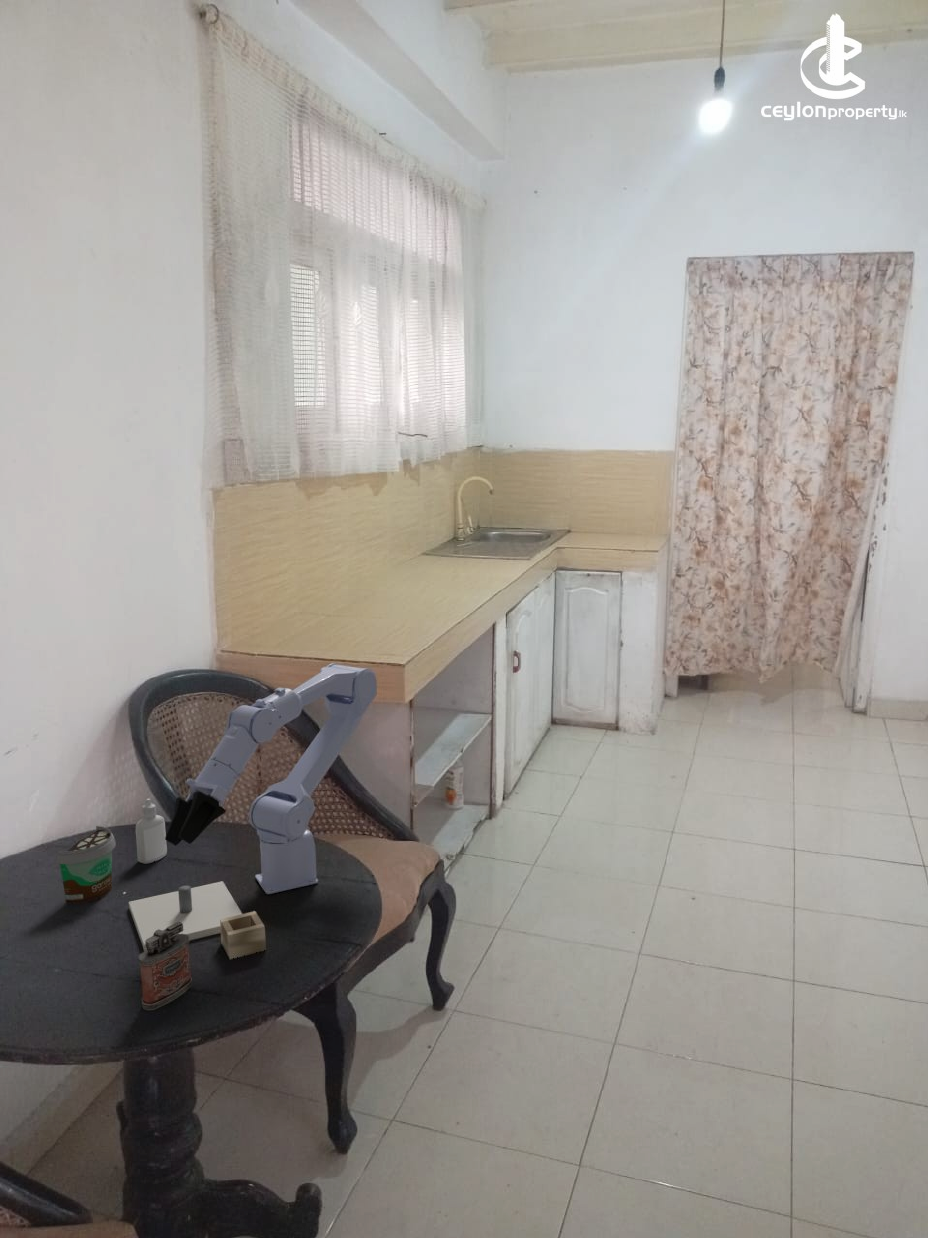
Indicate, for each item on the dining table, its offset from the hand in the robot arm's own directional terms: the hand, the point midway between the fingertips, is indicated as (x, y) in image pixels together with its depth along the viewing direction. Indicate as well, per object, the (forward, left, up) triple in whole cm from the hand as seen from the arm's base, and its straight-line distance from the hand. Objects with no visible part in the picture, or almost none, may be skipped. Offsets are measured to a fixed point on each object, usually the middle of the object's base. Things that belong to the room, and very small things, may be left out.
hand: (177, 841), depth 147 cm
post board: (-2, -5, -16) cm, 17 cm away
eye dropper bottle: (-1, -33, -16) cm, 36 cm away
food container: (+10, -22, -16) cm, 30 cm away
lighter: (+5, +17, -16) cm, 24 cm away
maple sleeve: (-8, +8, -16) cm, 19 cm away
